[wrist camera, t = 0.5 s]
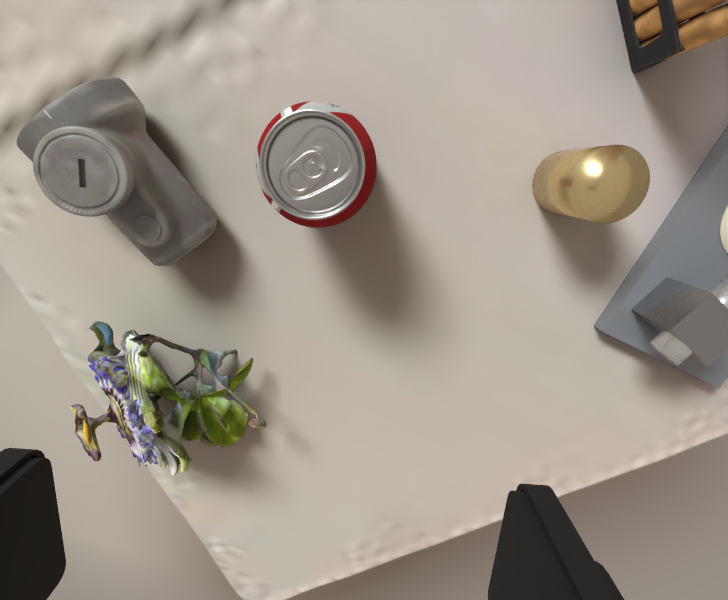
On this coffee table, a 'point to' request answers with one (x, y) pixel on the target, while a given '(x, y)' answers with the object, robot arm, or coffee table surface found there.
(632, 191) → the tan rounded cylinder
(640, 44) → the ammunition clip
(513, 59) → the coffee table surface
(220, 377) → the passion flower
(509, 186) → the coffee table surface
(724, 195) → the shaft rig
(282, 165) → the soda can
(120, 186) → the pipe fitting
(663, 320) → the grey block on rod
